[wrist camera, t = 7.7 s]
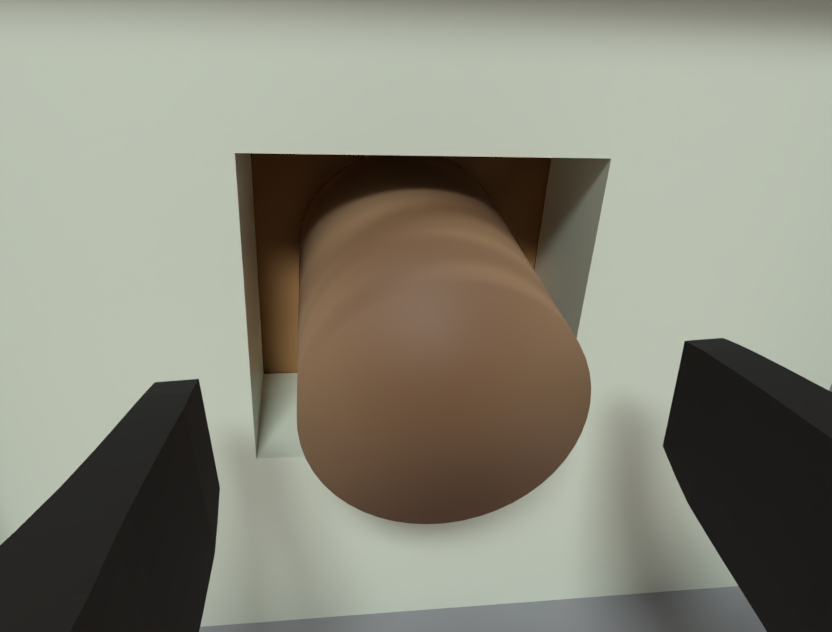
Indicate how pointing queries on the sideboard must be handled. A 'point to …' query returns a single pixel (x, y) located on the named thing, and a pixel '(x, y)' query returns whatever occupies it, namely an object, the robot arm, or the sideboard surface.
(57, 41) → the socket box
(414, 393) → the peg
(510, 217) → the sideboard surface
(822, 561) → the robot arm
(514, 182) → the sideboard surface
